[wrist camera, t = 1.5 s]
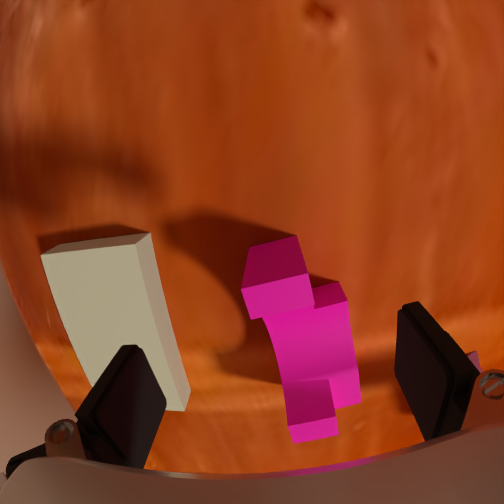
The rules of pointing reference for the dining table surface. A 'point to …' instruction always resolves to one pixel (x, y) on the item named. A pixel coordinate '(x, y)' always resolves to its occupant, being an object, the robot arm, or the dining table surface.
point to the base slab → (116, 307)
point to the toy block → (303, 337)
